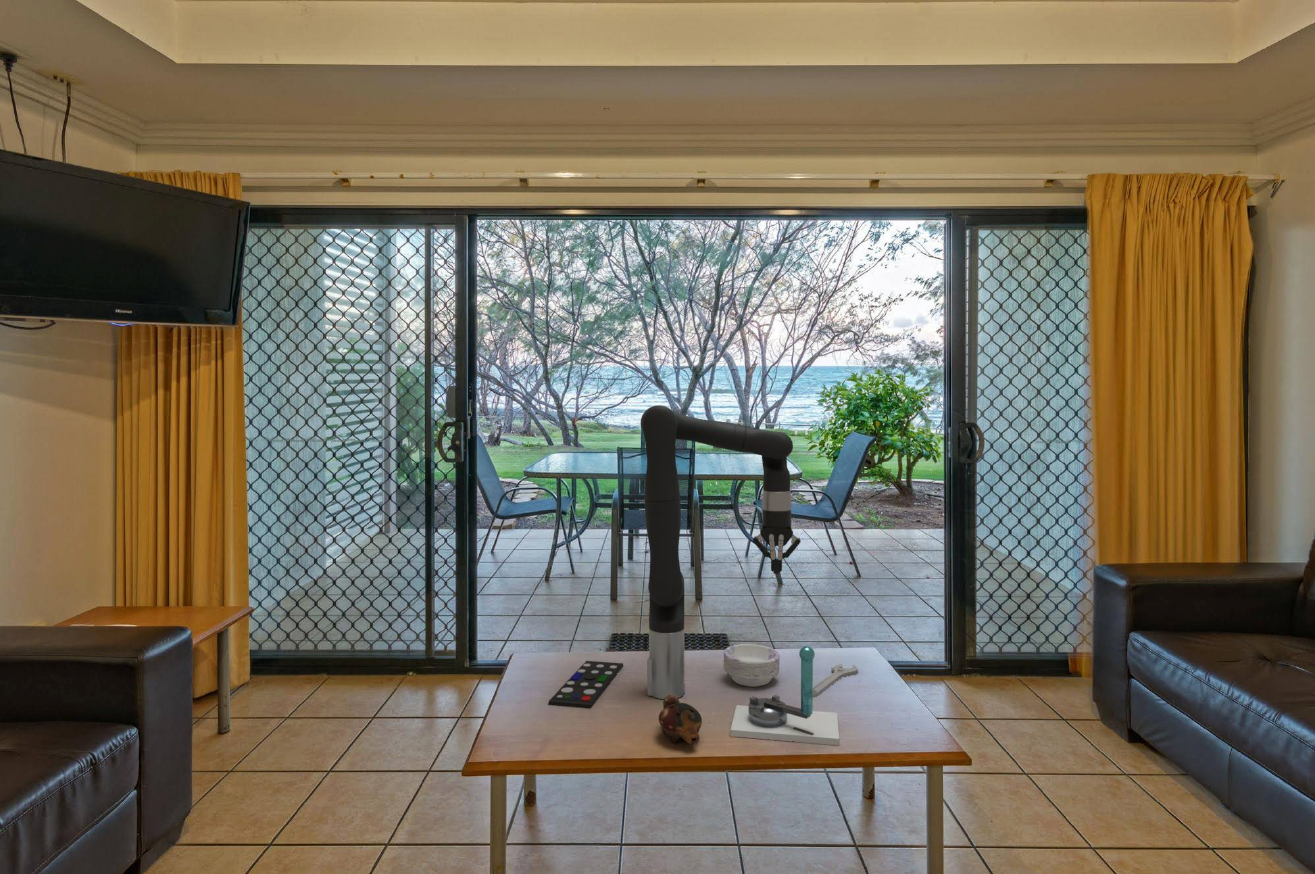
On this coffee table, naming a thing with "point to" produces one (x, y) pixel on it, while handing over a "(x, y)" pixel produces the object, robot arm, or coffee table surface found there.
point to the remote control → (586, 685)
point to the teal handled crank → (776, 710)
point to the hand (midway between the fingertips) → (776, 573)
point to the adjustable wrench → (833, 678)
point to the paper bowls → (751, 664)
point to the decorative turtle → (679, 720)
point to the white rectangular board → (789, 728)
